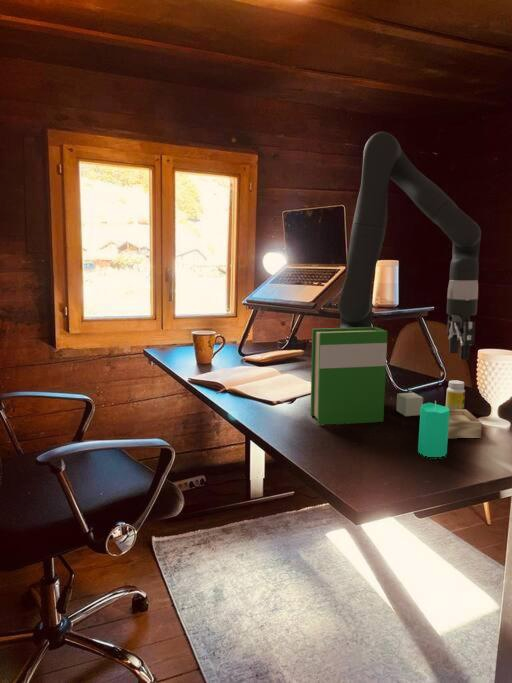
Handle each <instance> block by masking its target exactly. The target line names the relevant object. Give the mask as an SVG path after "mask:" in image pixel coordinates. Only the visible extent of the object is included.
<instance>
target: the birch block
mask: <svg viewBox="0 0 512 683" xmlns="http://www.w3.org/2000/svg"><path fill="white" fill-rule="evenodd" d="M482 425H483V423H482V422H481V421H480V420H479V419H478V418H477V417H476V416H475V415H473V414H472V413H471V411H469V410H467V409H464V410H462V409H450V416H449V430H448V439H457V438H482V427H483V426H482Z"/></svg>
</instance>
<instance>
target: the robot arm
mask: <svg viewBox="0 0 512 683" xmlns="http://www.w3.org/2000/svg"><path fill="white" fill-rule="evenodd" d="M362 156H363V157H362V170H361V172H362V173H361V181H360V182H361V183H360V188H359V193H358V197H357V201H356V206H355V211H354V216H353V220H352V225H351V230H350V231H351V232H350V237H349V245H348V246H349V247H348V253H347V254H348V256H347V267H346V272H345V277H344V281H343V285H342V289H341V292H340V295H339V298H338V302H337V309H338V312H339V314H340V316H339V317H340V323H339V328H358V327H372V319H373V300H372V297H371V289H372V282H373V275H374V273H375V269H376V265H377V263H378V260H379V258H380V254H381V251H382V249H383V243H384V240H385V233H386V230H387V229H386V228H387V225H388V224H387V223H388V188H389V182H390V180H391V181H392V182H394V184H396V186H398V187H399V188H400V189H401V190H403V192H405V194H406V195H407V196H408V197H409V198H410V200H412V202H413V203H414V204H415V205H416V207H418V209H419V210H420V211H421V212H422V213H423V214H425V216H426V217H428V218H429V219H430V221H432V222H433V223H434V224H435V225H437V226H438V228H440V229H441V231H442V232H443V233H444V234H445V235H446V236H447V237H448V238H449V239H450V241H451V242H452V251H451V252H452V254H451V255H452V258H451V261H450V267H449V281H448V287H447V296H446V297H447V298H446V314H447V326H446V337H448V340H449V345H448V346H449V347H448V348H449V349H448V352H449V353H450V354H457V353H458V352H459V351H460V352H459V359H460V360H462V361H468V360H469V359H470V356H471V354H470V352H471V346H472V345H475V342H476V341H475V340H476V338H475V337H476V321H471V316H475V315H477V312H478V300H479V299H478V298H479V282H478V281H479V266H480V265H479V255H480V250H481V249H480V248H481V239H482V230H481V228H480V226H479V224H478V223H477V222H476V221H475V220H473V218H471V217H470V216H469V215H467V214H466V213H465V212H464V211H463V210H462V209H460V208H459V207H458V205H457V204H456V202H455V201H454V200H453V199H452V198H451V197H450V196H448V195H447V193H445V191H444V190H443V189H441V188H440V187H439V186H438V185H437V184H436V183H434V182H433V180H431V179H429V178H428V177H426V175H424V174H423V173H422V172H421V171H420V170H419V169H417V168H416V166H415V165H414V164H413V163H412V162H411V161H410V159H409V158H408V157H407V155H406V154H405V152H404V151H403V150H402V148H401V145H400V143H399V141H398V140H397V139H396V138H395V136H394V135H392V134H391V133H389V132H387V131H378V132H376V133H374V134H372V135H371V136H370V137H369V138H368V140H367V141H366V143H365V145H364V149H363V154H362ZM459 342H460V350H459Z"/></svg>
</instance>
